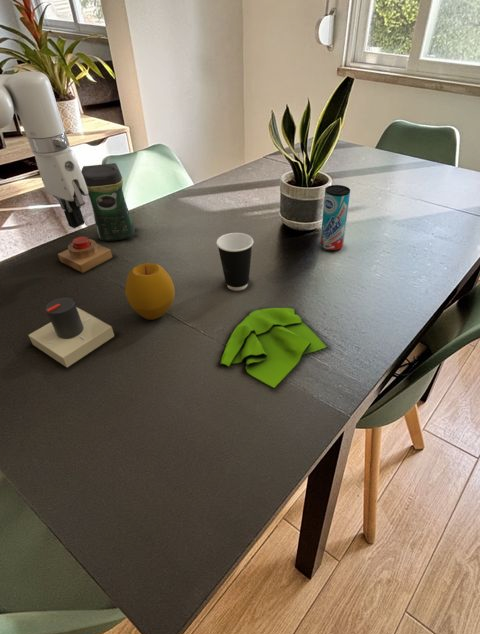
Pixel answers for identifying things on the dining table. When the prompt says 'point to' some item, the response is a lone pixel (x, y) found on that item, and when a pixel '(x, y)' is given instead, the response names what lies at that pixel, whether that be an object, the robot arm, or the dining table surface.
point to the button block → (85, 256)
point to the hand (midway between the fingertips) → (77, 225)
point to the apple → (149, 290)
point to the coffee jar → (108, 202)
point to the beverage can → (334, 217)
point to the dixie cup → (235, 259)
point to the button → (81, 243)
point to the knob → (64, 318)
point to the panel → (72, 339)
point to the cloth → (270, 344)
